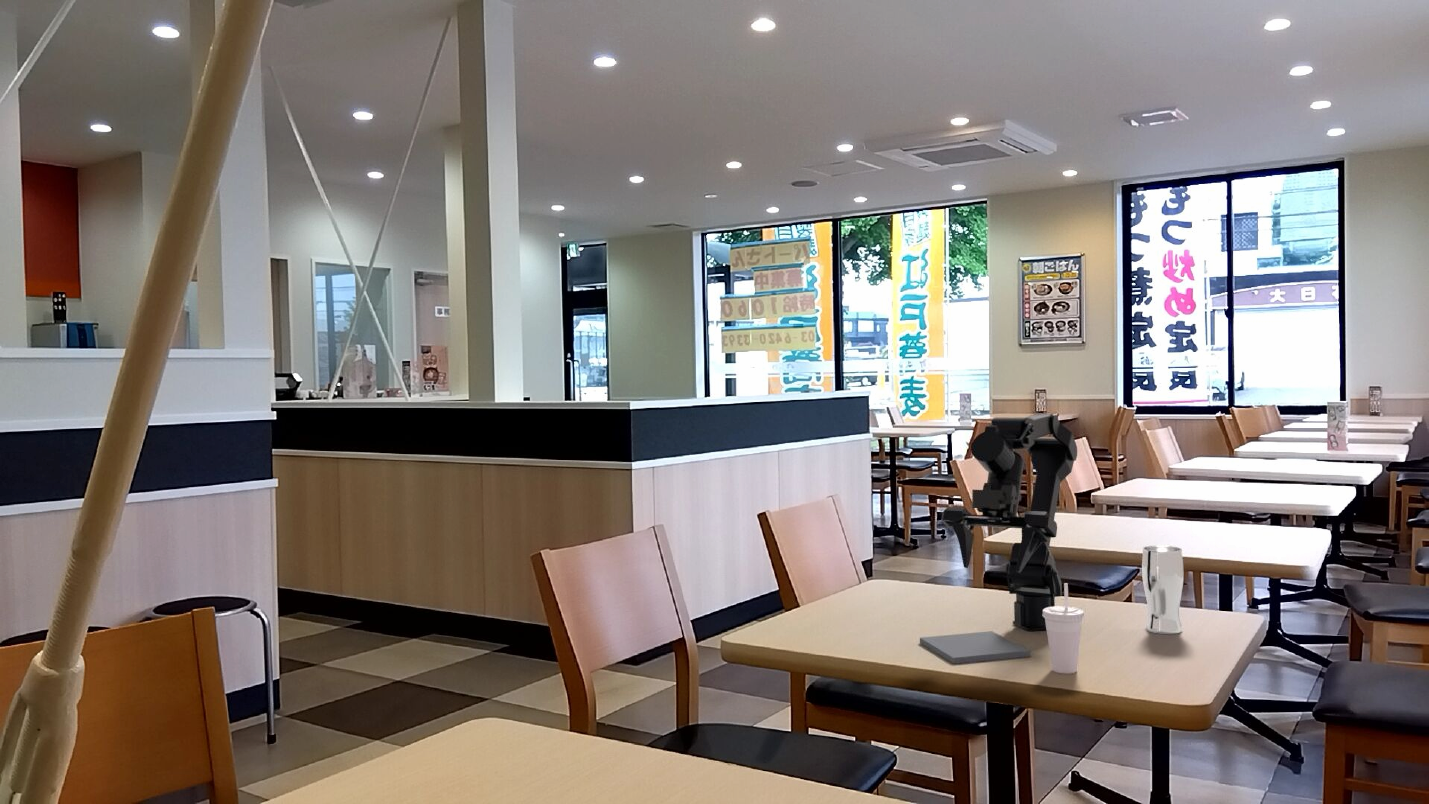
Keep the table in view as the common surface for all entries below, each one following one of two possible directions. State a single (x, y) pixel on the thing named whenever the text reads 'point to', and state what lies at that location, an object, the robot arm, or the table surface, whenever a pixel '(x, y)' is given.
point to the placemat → (974, 647)
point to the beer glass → (1163, 588)
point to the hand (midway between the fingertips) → (991, 569)
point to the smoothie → (1063, 635)
